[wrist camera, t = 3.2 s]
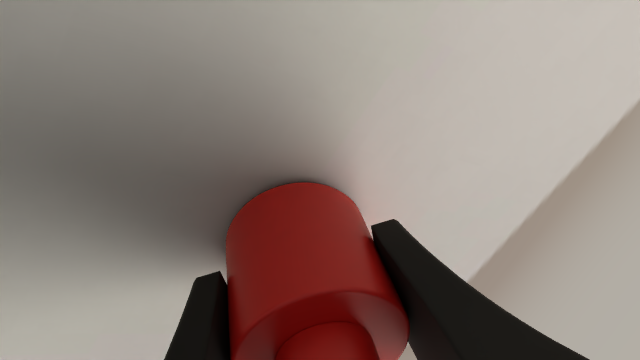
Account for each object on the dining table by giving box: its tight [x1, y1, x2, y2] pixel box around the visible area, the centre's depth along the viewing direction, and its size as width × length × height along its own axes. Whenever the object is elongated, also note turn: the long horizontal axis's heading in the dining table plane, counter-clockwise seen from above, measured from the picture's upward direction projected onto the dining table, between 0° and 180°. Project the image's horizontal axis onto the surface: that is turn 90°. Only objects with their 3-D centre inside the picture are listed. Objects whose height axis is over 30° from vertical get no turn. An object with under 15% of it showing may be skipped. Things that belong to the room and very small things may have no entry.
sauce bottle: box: [226, 182, 410, 360], centre depth 10 cm, size 4×4×6 cm
